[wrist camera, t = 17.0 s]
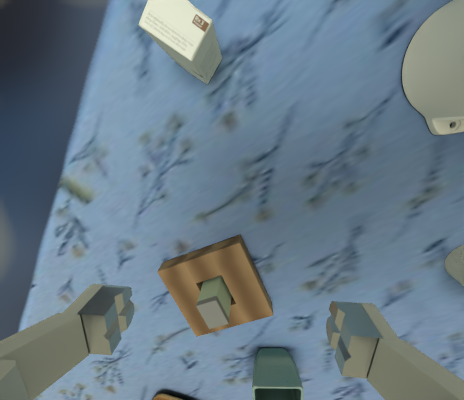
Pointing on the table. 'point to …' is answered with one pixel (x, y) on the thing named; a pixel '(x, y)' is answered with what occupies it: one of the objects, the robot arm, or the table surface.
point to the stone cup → (165, 397)
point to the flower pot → (276, 376)
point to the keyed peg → (214, 302)
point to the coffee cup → (456, 264)
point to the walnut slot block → (212, 265)
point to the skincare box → (183, 35)
